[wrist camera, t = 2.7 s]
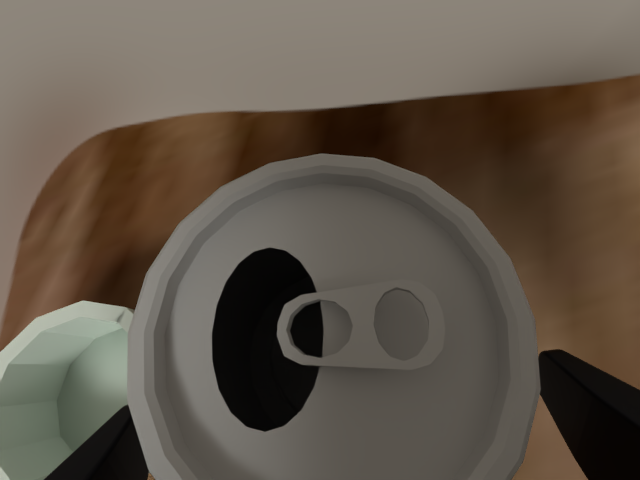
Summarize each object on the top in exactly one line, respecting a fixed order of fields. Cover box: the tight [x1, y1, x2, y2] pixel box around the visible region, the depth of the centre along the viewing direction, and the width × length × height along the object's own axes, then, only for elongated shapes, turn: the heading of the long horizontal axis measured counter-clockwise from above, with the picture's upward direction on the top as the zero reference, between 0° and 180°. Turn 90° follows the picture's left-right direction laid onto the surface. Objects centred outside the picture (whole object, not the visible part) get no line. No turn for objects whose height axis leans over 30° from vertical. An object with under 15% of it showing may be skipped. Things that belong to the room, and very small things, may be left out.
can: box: [127, 153, 541, 480], centre depth 11 cm, size 8×8×12 cm
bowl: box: [0, 301, 150, 480], centre depth 14 cm, size 7×7×4 cm
